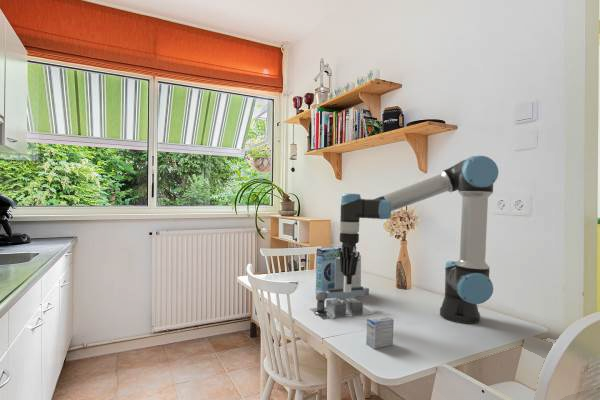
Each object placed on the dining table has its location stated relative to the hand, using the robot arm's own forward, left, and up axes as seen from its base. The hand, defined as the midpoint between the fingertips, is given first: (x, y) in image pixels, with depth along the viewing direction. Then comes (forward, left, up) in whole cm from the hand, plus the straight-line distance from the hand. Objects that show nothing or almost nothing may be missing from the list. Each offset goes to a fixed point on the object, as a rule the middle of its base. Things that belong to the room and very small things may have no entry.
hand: (347, 291), depth 139 cm
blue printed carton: (+38, -13, -11) cm, 42 cm away
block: (+8, -7, -10) cm, 15 cm away
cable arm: (+8, -3, -4) cm, 9 cm away
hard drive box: (+28, -16, -11) cm, 34 cm away
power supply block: (+8, +1, -10) cm, 13 cm away
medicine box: (-25, +2, -11) cm, 28 cm away
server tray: (+8, -2, -11) cm, 14 cm away
